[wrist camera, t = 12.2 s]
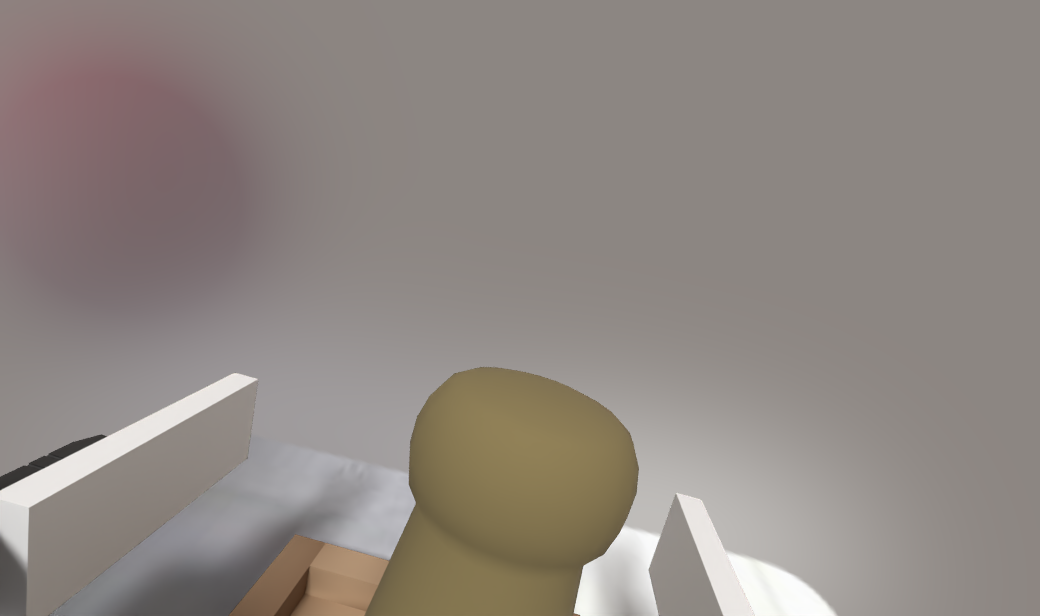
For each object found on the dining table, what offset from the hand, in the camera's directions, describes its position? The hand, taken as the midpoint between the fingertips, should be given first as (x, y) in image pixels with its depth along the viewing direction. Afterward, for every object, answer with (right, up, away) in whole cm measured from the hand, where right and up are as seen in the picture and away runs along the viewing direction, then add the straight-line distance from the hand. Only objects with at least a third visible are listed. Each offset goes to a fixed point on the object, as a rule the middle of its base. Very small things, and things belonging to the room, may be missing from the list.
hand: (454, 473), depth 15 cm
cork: (-1, -7, -2) cm, 8 cm away
